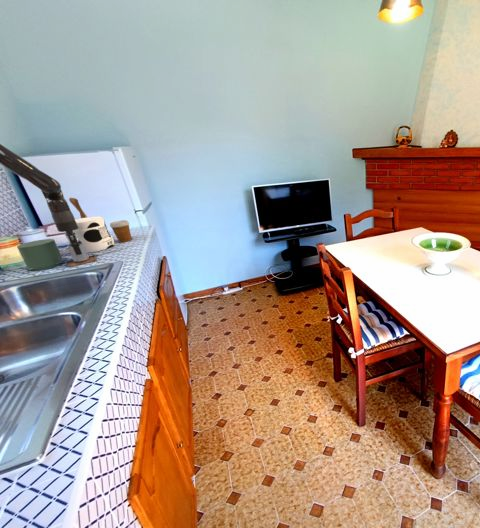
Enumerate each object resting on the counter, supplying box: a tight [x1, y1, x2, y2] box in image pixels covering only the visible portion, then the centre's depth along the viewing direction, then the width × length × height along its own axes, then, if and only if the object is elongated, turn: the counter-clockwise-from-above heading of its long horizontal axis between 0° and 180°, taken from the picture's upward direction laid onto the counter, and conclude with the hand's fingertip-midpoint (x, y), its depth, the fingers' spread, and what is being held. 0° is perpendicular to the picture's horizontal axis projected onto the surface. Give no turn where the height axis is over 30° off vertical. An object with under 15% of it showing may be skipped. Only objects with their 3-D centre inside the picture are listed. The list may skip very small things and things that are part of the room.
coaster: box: [66, 255, 98, 268], centre depth 152 cm, size 11×11×1 cm
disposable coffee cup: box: [109, 219, 133, 244], centre depth 182 cm, size 10×10×12 cm
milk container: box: [73, 216, 115, 254], centre depth 164 cm, size 17×17×18 cm
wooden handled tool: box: [68, 197, 88, 219], centre depth 179 cm, size 7×19×28 cm, turn 44°
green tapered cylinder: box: [16, 238, 66, 272], centre depth 146 cm, size 14×14×12 cm
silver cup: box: [66, 243, 90, 262], centre depth 150 cm, size 6×6×8 cm
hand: (78, 253), depth 150 cm, fingers closed on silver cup, 6 cm apart
